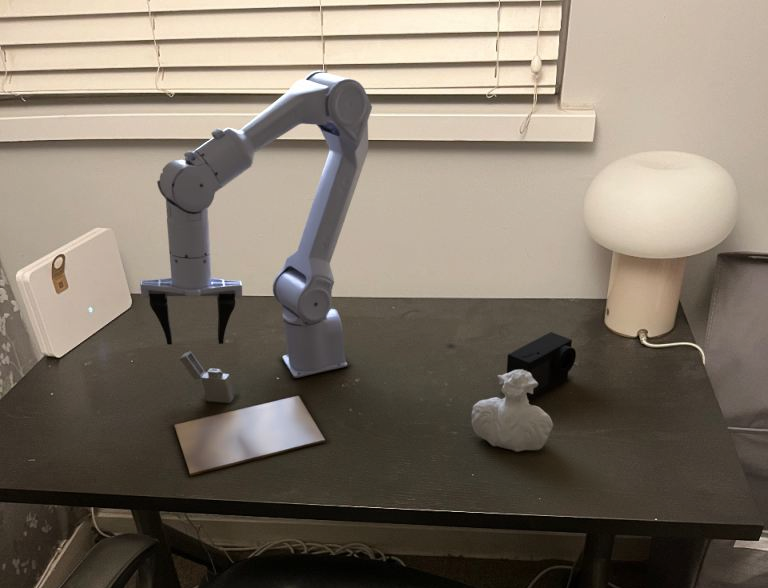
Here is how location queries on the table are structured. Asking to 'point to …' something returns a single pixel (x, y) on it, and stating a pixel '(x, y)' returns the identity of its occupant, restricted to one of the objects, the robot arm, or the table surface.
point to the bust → (512, 416)
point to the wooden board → (246, 434)
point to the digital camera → (544, 361)
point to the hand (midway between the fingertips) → (195, 341)
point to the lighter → (210, 380)
